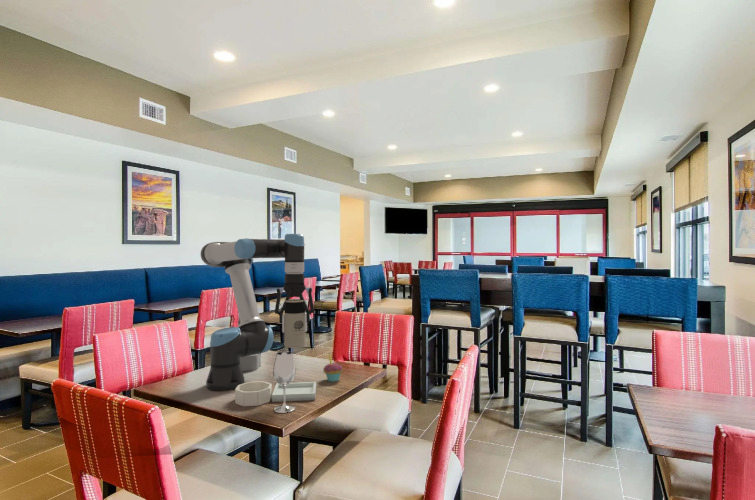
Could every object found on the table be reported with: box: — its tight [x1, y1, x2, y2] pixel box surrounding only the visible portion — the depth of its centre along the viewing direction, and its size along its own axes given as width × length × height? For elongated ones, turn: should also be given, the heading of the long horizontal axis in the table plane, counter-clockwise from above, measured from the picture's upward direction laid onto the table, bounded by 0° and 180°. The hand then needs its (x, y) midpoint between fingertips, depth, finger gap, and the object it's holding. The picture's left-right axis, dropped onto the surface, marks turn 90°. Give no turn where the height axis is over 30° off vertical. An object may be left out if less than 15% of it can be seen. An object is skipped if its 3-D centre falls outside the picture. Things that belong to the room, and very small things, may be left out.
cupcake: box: [323, 352, 344, 382], centre depth 181 cm, size 9×8×12 cm
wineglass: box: [272, 350, 297, 414], centre depth 148 cm, size 8×8×20 cm
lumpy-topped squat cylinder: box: [240, 353, 262, 372], centre depth 200 cm, size 10×13×9 cm
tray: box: [271, 381, 317, 403], centre depth 163 cm, size 16×14×2 cm
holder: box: [234, 380, 273, 407], centre depth 157 cm, size 13×13×5 cm
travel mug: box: [283, 298, 306, 349], centre depth 163 cm, size 8×8×18 cm
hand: (294, 331), depth 163 cm, fingers closed on travel mug, 8 cm apart
